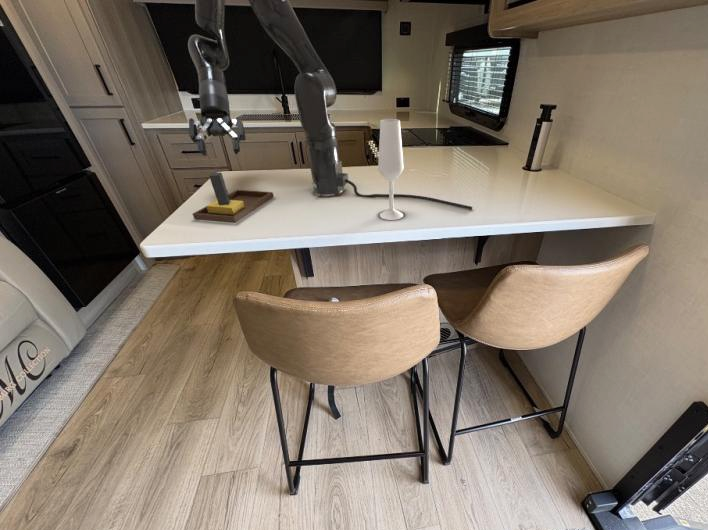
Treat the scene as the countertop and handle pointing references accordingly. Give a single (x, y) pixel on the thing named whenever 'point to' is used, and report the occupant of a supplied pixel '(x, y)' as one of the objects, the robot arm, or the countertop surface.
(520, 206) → the countertop surface
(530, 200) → the countertop surface
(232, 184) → the countertop surface
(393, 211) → the champagne flute
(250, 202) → the tray
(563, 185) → the countertop surface
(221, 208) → the grey post with base
